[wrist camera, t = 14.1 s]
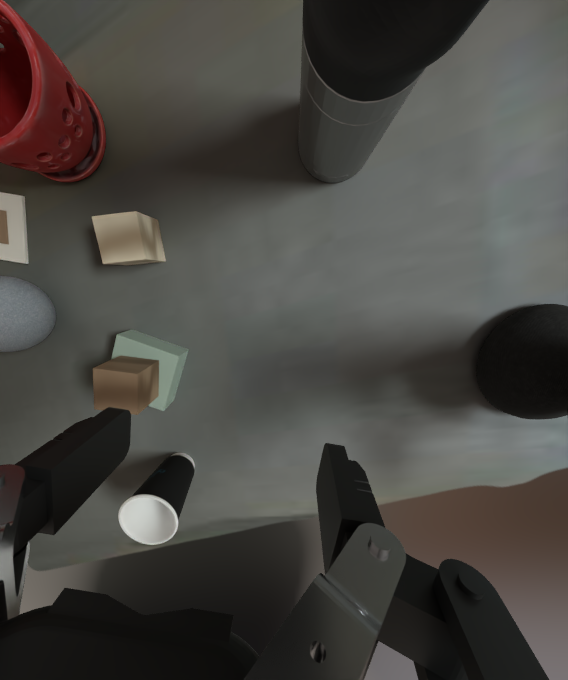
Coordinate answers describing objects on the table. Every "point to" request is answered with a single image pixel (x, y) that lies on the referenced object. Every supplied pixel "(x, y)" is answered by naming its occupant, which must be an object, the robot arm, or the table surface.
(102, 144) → the plant pot
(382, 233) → the table surface
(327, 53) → the robot arm
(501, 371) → the candelabra
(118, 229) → the birch block
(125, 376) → the walnut block
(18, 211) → the card
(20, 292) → the decorative stone
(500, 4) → the table surface
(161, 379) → the sage green base block
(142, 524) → the dixie cup
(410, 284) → the table surface
